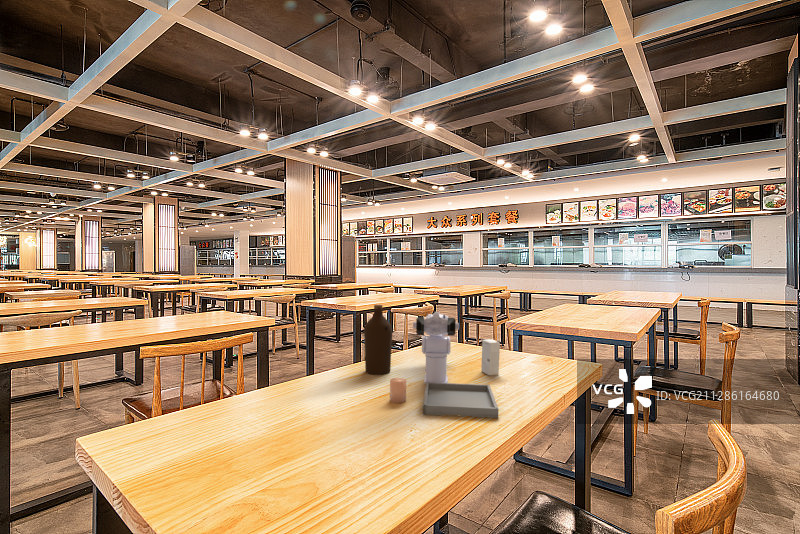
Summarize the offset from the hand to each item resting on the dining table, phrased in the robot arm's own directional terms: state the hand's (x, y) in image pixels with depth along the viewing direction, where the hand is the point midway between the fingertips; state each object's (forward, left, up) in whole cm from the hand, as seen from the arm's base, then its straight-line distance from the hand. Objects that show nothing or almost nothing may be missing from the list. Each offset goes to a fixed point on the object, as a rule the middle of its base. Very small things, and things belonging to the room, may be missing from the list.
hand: (435, 328), depth 115 cm
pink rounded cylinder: (+1, -11, -22) cm, 24 cm away
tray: (+1, +7, -22) cm, 23 cm away
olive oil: (-28, -22, -22) cm, 42 cm away
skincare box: (-31, +20, -22) cm, 43 cm away
